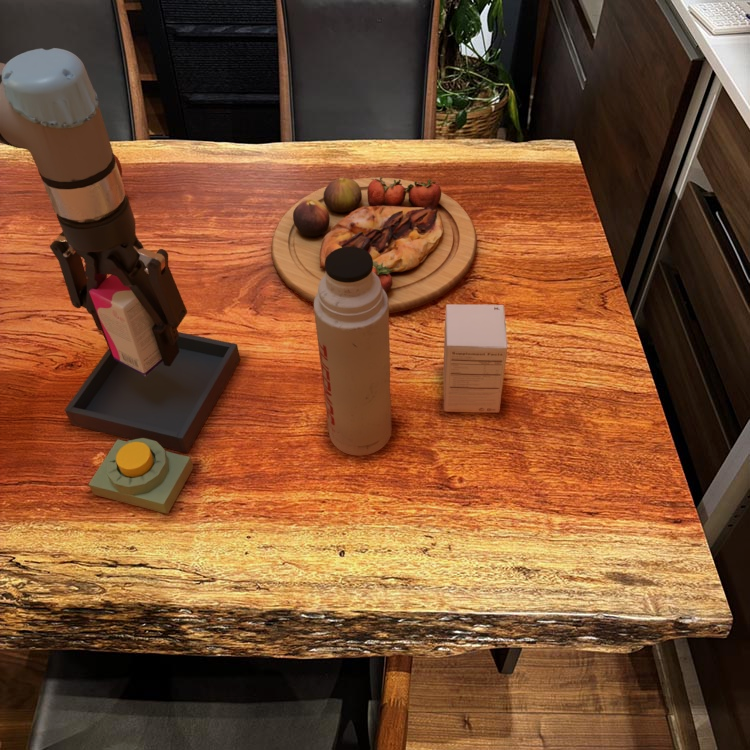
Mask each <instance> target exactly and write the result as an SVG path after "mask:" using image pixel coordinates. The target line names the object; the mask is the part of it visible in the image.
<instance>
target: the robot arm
mask: <svg viewBox="0 0 750 750" xmlns="http://www.w3.org/2000/svg"><path fill="white" fill-rule="evenodd" d="M99 105H100V103H99V98H98V94H97V92H96V90H95V89H94V87H93V84H92V82H91V79H90V77H89V74H88V71H87V69H86V67H85V65H84V62H83V61H82V60H81V59H80V58H79V56H77V55H76V54H75V53H73V52H71V51H69V50H66V49H63V48H57V47H56V48H55V47H53V48H50V49H44V48H35V49H32V50H27V51H25V52H23V53H20V54H18V55H16V56H14V57H12V58H11V59H10V60H9V61H7V62H6V63H3V62H0V144H1V145H6V146H9V147H13V148H16V149H23V150H27V151H28V152H29V153H30V155H31V157H32V159H33V162H34V163H35V166H36V169H37V172H38V174H39V176H40V178H41V180H42V183H43V185H44V188H45V191H46V193H47V196H48V199H49V201H50V203H51V206H52V210H53V211H54V212H55V214H56V218H57V221H58V223H59V226H60V228H61V231H62V232H61V233H60V234H59V235H58V236H57V237H56V238H55V239H54V240H53V242H52V243H51V244H50V245H49V248H50V250H51V252H52V254H53V255H54V256H55V257H56V259H57V261H58V263H59V267H60V271H61V273H62V276H63V280H64V283H65V286H66V289H67V292H68V297H69V299H70V303H71V306H73V307H74V308H76V309H81V308H84V309H86V312H87V313H88V314H90V315H91V317H92V319H93V321H94V324H95V327H96V328H97V329H98V331H100V332H102V335H103V337H104V340H105V342H106V345H107V348H108V349H109V350H110V352H111V354H112V351H111V349H110V346H109V343H108V341H107V338H106V335H105V333H104V330H103V327H102V325H101V322H100V319H99V317H98V314H97V311H96V309H95V306H94V303H93V301H92V298H91V295H90V293H89V291H90V290H91V289H96V290H97V288H98V287H99V286H100V285H101V283H102V282H103V281H104V280H105V279H107V278H108V275H114V276H117V277H118V278H119V280H120V281H121V283H122V284H123V285H124V286H125V287H126V286H128V287H129V288H130V289H131V290H132V292H133V293H134V295H135V296H136V297H137V299H138V300H139V302H140V303H141V304H142V306H143V307H144V308H145V310H146V311H147V313H148V314H149V315H150V317H151V318H152V320H153V321H154V322H155V325H154V326H153V327H152V330H153V333H154V336H155V339H156V342H157V345H158V348H159V351H160V354H161V357H162V360H163V363H164V365H165V366H171V364H172V362H173V361H174V359H175V358H176V356H177V355H178V353H179V352H180V351H179V348H178V345H177V342H176V340H177V339H178V337H179V334H178V332H179V331H178V328H179V326H180V325H181V324H182V322H183V320H184V319H185V317H186V316H187V314H188V310H187V308H186V307H187V306H186V305H185V303H184V300H183V298H182V295H181V292H180V291H179V288H178V286H177V283H176V281H175V279H174V276H173V274H172V271H171V269H170V267H169V253H168V251H166V250H165V249H164V248H159V249H158V250H157V251H156V252H155V251H152V250H149V249H146V248H144V245H143V243H142V242H141V241H140V239H138V237H137V233H136V232H137V231H136V230H137V229H136V218H135V215H134V212H133V209H132V206H131V203H130V200H129V197H128V195H127V194H126V189H125V185H124V183H123V179H122V177H121V176H120V173H119V170H118V166H117V163H116V160H115V157H114V155H115V153H114V151H113V148H112V147H113V146H112V143H111V140H110V137H109V134H108V131H107V128H106V125H105V122H104V119H103V115H102V111H101V108H100V106H99Z"/></svg>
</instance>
